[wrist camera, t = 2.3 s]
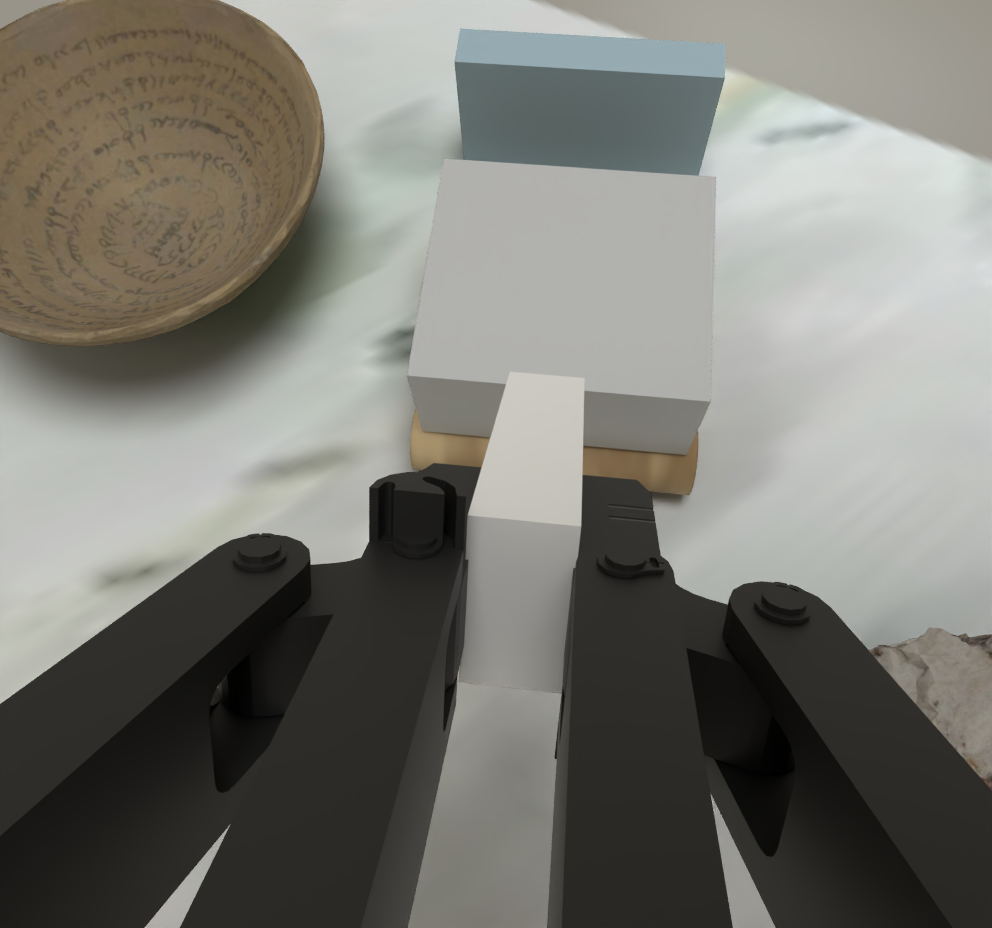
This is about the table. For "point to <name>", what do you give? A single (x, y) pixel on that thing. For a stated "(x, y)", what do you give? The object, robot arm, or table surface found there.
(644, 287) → the slab
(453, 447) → the roller bed
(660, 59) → the fence
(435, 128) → the table surface
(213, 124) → the bowl
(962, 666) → the mineral rock
